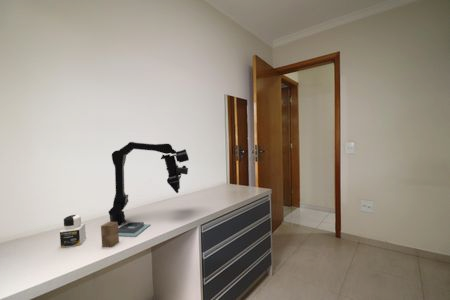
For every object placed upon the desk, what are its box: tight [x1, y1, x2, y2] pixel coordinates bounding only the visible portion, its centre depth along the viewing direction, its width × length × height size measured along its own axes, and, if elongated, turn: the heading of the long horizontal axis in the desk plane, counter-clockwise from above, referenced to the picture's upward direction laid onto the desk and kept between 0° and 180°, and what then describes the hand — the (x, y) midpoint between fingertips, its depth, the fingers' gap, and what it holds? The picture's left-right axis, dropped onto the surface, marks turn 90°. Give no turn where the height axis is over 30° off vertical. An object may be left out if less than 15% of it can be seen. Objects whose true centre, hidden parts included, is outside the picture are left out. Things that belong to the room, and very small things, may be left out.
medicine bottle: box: [59, 214, 87, 249], centre depth 91 cm, size 7×7×12 cm
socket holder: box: [118, 221, 151, 238], centre depth 102 cm, size 13×13×3 cm
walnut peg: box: [100, 221, 120, 248], centre depth 88 cm, size 4×4×9 cm
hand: (178, 190), depth 119 cm, fingers open, 9 cm apart
